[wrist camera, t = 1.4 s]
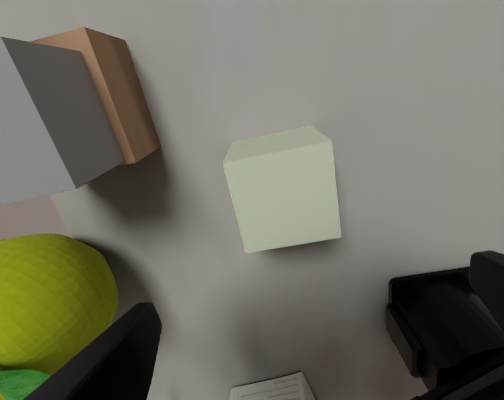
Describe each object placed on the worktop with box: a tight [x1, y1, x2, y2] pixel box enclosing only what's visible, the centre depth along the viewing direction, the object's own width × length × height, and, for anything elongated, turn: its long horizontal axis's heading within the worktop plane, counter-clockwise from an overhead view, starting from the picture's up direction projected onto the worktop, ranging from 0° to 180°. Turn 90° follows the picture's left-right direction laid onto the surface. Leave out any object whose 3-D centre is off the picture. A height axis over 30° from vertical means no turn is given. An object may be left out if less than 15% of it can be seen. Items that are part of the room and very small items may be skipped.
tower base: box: [31, 27, 161, 167], centre depth 15 cm, size 6×6×4 cm
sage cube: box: [223, 126, 341, 253], centre depth 16 cm, size 5×5×5 cm
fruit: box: [0, 234, 118, 400], centre depth 16 cm, size 9×9×10 cm
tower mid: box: [0, 37, 125, 205], centre depth 11 cm, size 5×5×4 cm
